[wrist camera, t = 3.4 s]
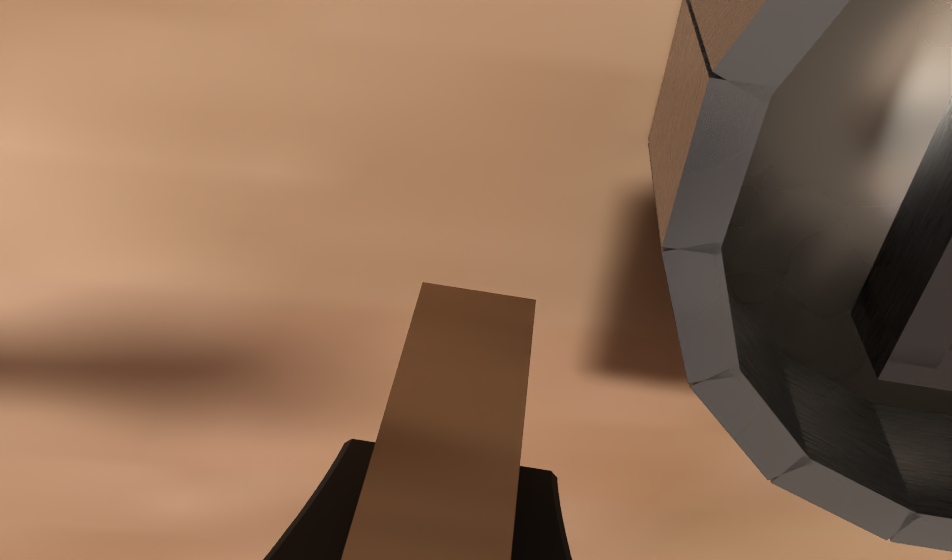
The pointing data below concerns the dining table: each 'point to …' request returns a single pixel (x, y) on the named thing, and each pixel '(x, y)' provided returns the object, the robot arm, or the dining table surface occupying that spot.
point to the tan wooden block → (449, 433)
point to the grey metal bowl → (817, 245)
